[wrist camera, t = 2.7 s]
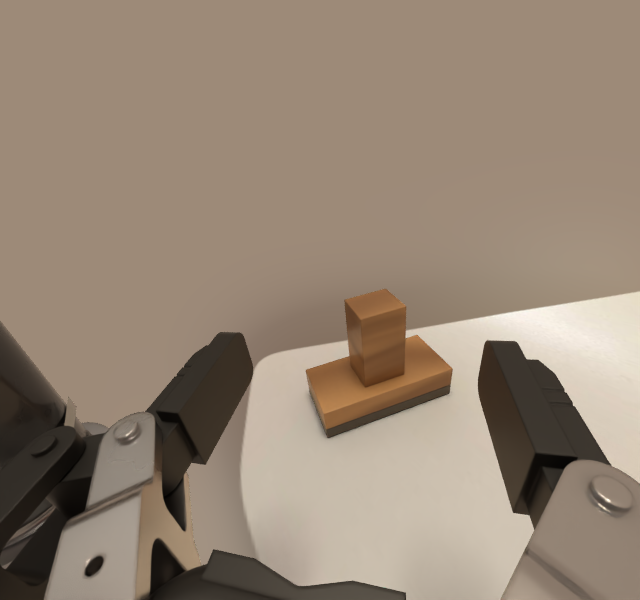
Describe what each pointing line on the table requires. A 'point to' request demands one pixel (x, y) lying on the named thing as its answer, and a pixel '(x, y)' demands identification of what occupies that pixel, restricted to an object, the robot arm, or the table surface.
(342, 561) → the table surface
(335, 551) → the table surface
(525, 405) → the robot arm
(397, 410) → the eraser
